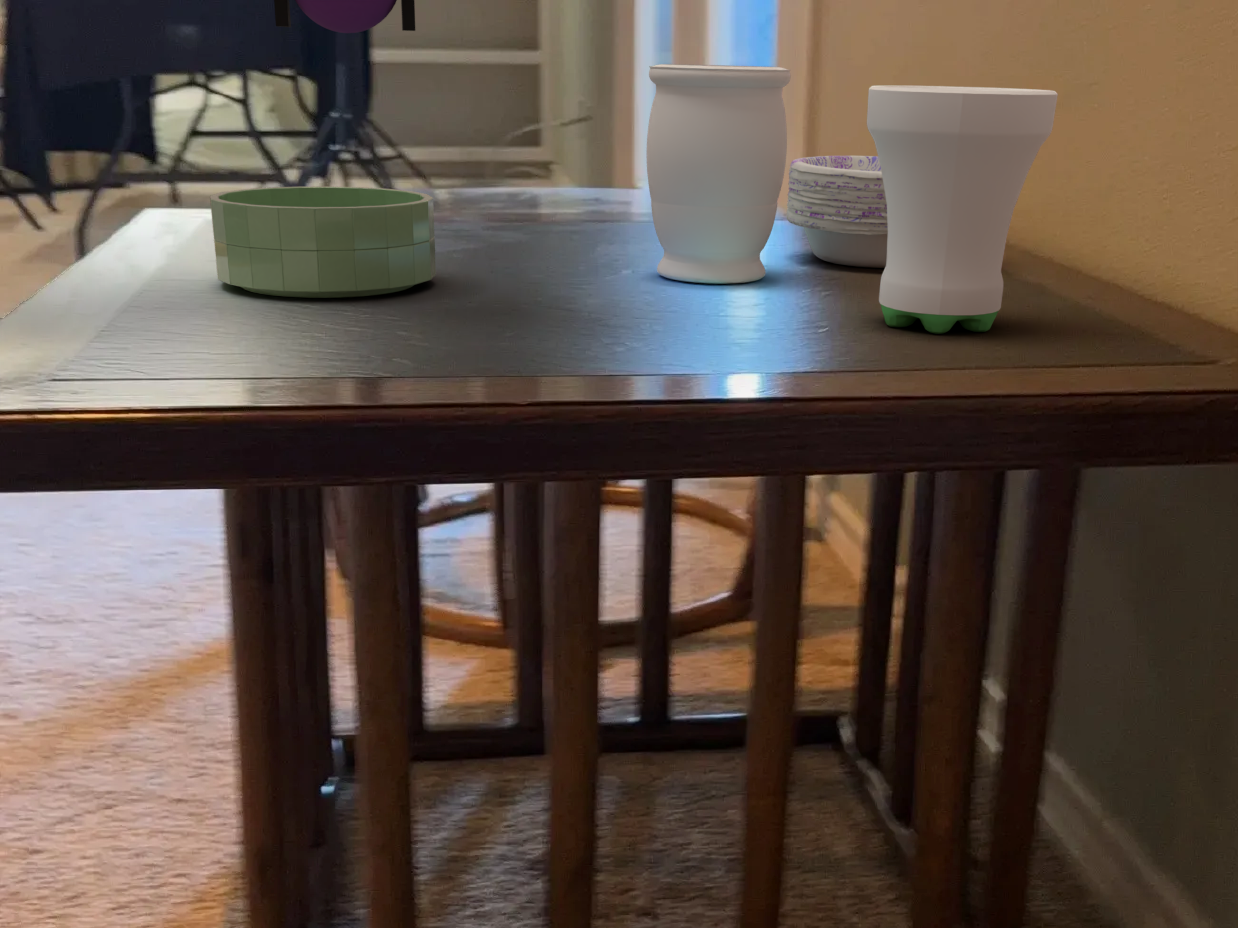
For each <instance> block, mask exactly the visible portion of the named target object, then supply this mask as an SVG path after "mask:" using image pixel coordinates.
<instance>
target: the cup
mask: <svg viewBox="0 0 1238 928" xmlns="http://www.w3.org/2000/svg"><path fill="white" fill-rule="evenodd" d="M1058 96H1059V94H1058V92H1056V90H1052V89H1034V88H1014V87H1013V88H1012V87H1011V88H1010V87H988V86H987V87H983V86H951V85H950V86H947V85H899V84H897V85H893V84H892V85H891V84H890V85H886V84H885V85H884V84H883V85H879V84H877V85H871V86H869V88H868V95H867V110H866V111H867V112H866V127H867V130H868V132H869V134H870V136H871V138H872V140H873V141H874V145H875V151H876V154H877V156H878V158H879V162H880V166H881V172H882V178H883V184H884V190H885V196H886V202H887V223H888V239H887V261H886V267H885V268H883V271H882V273H881V277H880V281H879V282H880V285H879V293H878V303H879V304H880V307H881V311H882V314H883V315H882V316H883V318H884V322H885V324H886V325H887V326H889V327H891V328H907V327H910V326H911V325H913V324H914V323H915V322H916V321H917V320H918V319H919V320H920V322H921V324H922V326H923V327H924V329H925V330H926V331H927V332H929V333H930V334H935V335H942V334H945V333H947V332H950V331H951V329H952V328H953V327H954V325H955V324H956V323H957V322H959V325H961V327H962V328H963V329H965V330H966V331H969V332H975V333H985V332H988V331H989V330H990V329H991V327H992V325H993V323H994V321H995V319H996V318H997V316H998V314H999V311H1000V310H1001V308H1002V301H1003V294H1004V278H1003V275H1002V274H1003V273H1002V267H1003V261H1004V256H1005V255H1004V254H1005V250H1006V244H1007V243H1006V242H1007V237H1008V234H1009V230H1010V226H1011V222H1012V217H1013V215H1014V210H1015V207H1016V205H1017V203H1018V199H1019V197H1020V195H1021V192H1022V190H1023V187H1024V184H1025V182H1026V179H1027V177H1028V175H1029V171H1030V170H1031V167H1032V166H1033V163H1034V162H1035V159H1036V157H1037V155H1038V153H1039V151H1040V149H1041V147H1042V146H1043V145H1044V144H1045V142H1046V141H1047V140H1048V138H1049V137H1050V135H1051V134H1052V131H1053V129H1054V128H1053V127H1054V121H1055V115H1056V109H1057V102H1058Z"/></svg>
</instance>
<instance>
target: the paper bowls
mask: <svg viewBox="0 0 1238 928" xmlns="http://www.w3.org/2000/svg"><path fill="white" fill-rule="evenodd" d="M786 207H787V209H786V220H787V221H788V223H790V224H792V225H795V226H797V227H802V228H803V230H804V232H805V236H806V239H807V242H808V244H809V247H810V249H811V251H812V253H813V254H814V255H815V256H816V257H817V258H818V259H820V260H822V261H825V262H827V263H832V264H836V265H842V266H847V267H848V266H849V267H857V268H870V269H871V268H874V269H875V268H876V269H885V267H886V261H887V239H888V223H887V202H886V196H885V190H884V184H883V178H882V172H881V166H880V162H879V158H878V155H817V156H806V157H798V158H795V159H793V160H791V162H790V164H789V169H788V192H787V203H786Z"/></svg>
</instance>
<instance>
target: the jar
mask: <svg viewBox="0 0 1238 928" xmlns="http://www.w3.org/2000/svg"><path fill="white" fill-rule="evenodd" d="M790 71H791V69H787V68H785V67H781V66H763V65H762V66H759V65H758V66H757V65H756V66H755V65H721V64H680V63H679V64H677V63H674V64H673V63H672V64H671V63H670V64H669V63H662V64H661V63H660V64H655V65H649V71H648V77H649V80H650V81H651V82H652V83H653V84H655V94H654V97H653V100H652V103H651V108H650V113H649V118H648V119H649V120H648V127H647V136H646V173H647V180H648V181H647V182H648V183H647V184H648V190H649V196H650V206H651V207H650V208H651V216H652V221H653V226H654V231H655V234H656V236H657V239H658V242H659V245H660V246H661V247H662V249H663V256H662V258H661V260H660V261H659V262H658V263H657V267H656V272H657V273H658V275H660V276H662V277H664V278H667V279H670V280H675V281H679V282H686V283H687V282H688V283H695V284H696V283H699V284H714V285H715V284H722V285H723V284H726V285H727V284H742V283H750V282H755V281H758V280H761V279H763V278H765V276H766V268H765V266H764V264H763V262H762V260H761V253H762V251H763V250H764V249H765V247H766V244H767V243H768V241H769V238H770V236H771V234H772V231H773V227H774V224H775V220H776V216H777V210H778V200H779V198H780V193H781V191H782V186H783V182H784V176H785V171H786V163H787V149H788V131H787V130H788V129H787V116H786V109H785V102H784V99H783V90H784V87H786V86H788V84H789V83H790V81H791V76H792V75H791V72H790Z"/></svg>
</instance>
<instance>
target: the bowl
mask: <svg viewBox="0 0 1238 928" xmlns="http://www.w3.org/2000/svg"><path fill="white" fill-rule="evenodd" d="M209 202H210V213H211V223H212V224H211V225H212V235H213V245H214V256H215V257H214V258H215V266H216V275H217V276H216V277H217V280H218V281H220V282H223V283H225V284H227V285H229V286H235V287H239V288H241V289H243V290H244V291H247V292H250V293H254V294H259V295H260V294H261V295H267V296H274V297H285V298H286V297H288V298H305V299H307V298H308V299H311V298H312V299H331V298H333V299H334V298H335V299H336V298H338V299H339V298H359V297H370V296H372V297H373V296H380V295H387V294H392V293H399V292H401V291H406V290H409V289H410V288H412V287H414V286H415V285H419V284H422V283H426V282H428V281H431V280H432V279H433V278H435V276H436V275H437V269H436V268H437V267H436V239H435V211H434V210H435V209H434V197H432V195H429V194H427V193H423V192H418V191H413V190H406V189H405V190H404V189H395V188H382V187H367V186H366V187H365V186H327V185H325V186H323V185H321V186H319V185H318V186H276V187H258V188H257V187H256V188H243V189H234V190H227V191H221V192H217V193H214V194H211V195H209Z"/></svg>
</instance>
